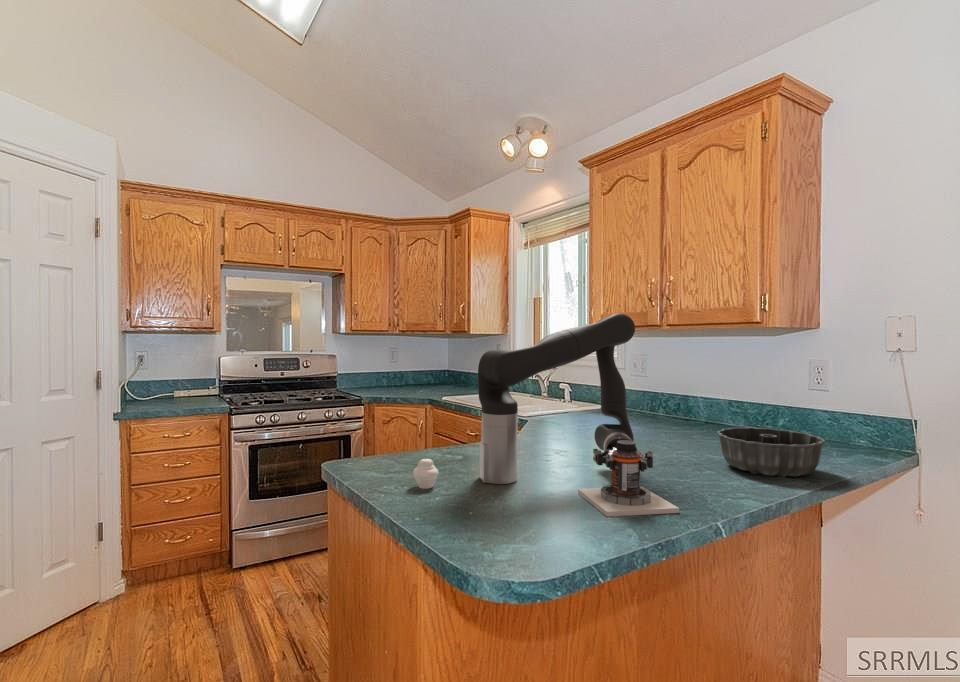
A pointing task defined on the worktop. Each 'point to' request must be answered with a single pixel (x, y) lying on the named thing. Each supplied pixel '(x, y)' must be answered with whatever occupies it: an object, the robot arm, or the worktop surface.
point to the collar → (628, 501)
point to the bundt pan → (771, 451)
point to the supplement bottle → (626, 469)
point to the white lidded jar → (425, 474)
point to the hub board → (612, 509)
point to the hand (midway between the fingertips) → (627, 466)
